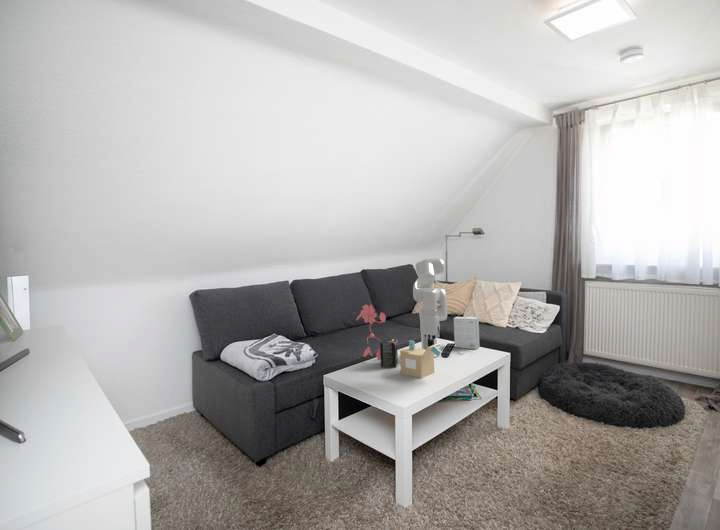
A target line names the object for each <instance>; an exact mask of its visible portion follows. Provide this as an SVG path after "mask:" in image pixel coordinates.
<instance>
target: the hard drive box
mask: <svg viewBox="0 0 720 530" xmlns="http://www.w3.org/2000/svg"><path fill="white" fill-rule="evenodd" d="M453 338H454V339H453V341H454V344H455V345H456V346H457V347H456V348H458V347H461V348H460V349H470V350H471V349H472V350H478V349H479V348H480V346H481V345H480V324H479V317H475V316H455V317H453Z"/></svg>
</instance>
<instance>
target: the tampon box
mask: <svg viewBox="0 0 720 530" xmlns="http://www.w3.org/2000/svg"><path fill="white" fill-rule="evenodd" d="M379 347H380V357H381V359H380V368H397V366H398V363H399V359H398V338H382V340H381V342H380V341H379Z"/></svg>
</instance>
